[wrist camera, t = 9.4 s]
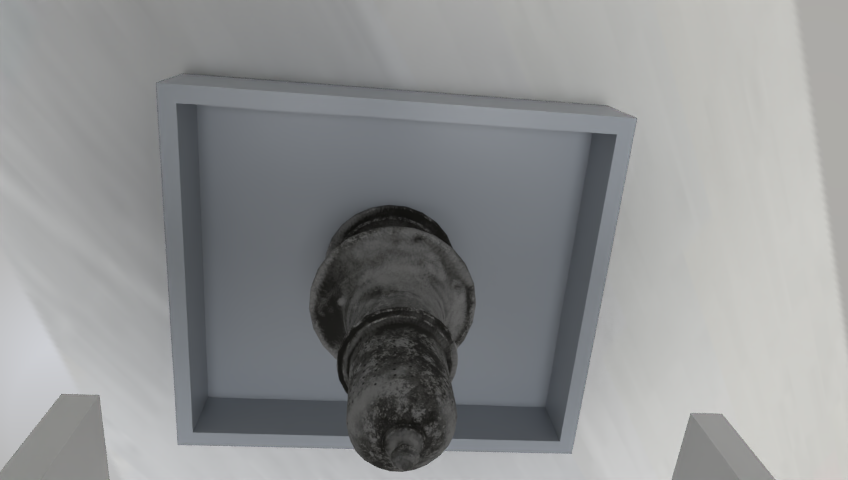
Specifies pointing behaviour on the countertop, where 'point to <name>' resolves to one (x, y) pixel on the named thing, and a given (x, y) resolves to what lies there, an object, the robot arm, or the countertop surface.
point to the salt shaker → (394, 331)
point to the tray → (360, 190)
